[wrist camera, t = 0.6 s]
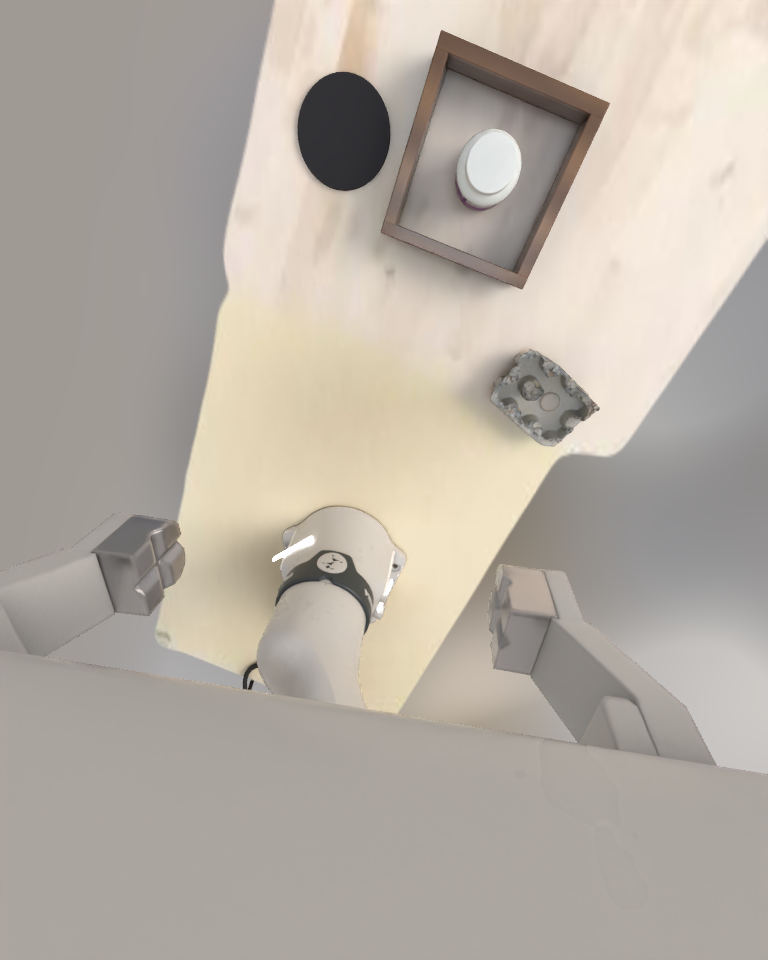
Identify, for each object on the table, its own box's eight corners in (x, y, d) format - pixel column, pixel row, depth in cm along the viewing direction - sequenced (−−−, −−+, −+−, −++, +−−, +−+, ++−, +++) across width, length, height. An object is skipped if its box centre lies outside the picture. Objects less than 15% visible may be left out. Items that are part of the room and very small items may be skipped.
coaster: (382, 197, 44) (381, 197, 44) (295, 182, 44) (294, 181, 44) (397, 82, 40) (397, 80, 39) (301, 65, 40) (300, 63, 39)
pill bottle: (458, 144, 41) (461, 117, 33) (515, 145, 41) (533, 118, 32) (451, 210, 44) (453, 202, 35) (505, 213, 43) (520, 204, 35)
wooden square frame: (516, 286, 46) (522, 289, 43) (385, 233, 45) (380, 232, 42) (595, 116, 39) (610, 103, 35) (441, 50, 38) (441, 29, 35)
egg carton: (594, 399, 51) (606, 410, 47) (544, 443, 54) (551, 457, 50) (530, 338, 48) (538, 345, 45) (482, 388, 52) (485, 398, 48)
